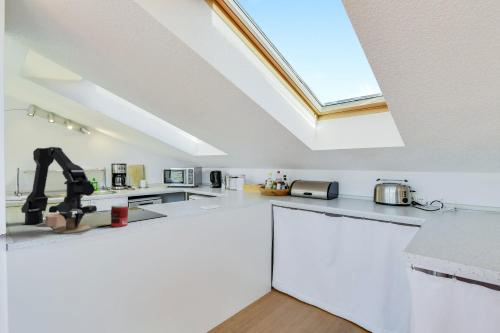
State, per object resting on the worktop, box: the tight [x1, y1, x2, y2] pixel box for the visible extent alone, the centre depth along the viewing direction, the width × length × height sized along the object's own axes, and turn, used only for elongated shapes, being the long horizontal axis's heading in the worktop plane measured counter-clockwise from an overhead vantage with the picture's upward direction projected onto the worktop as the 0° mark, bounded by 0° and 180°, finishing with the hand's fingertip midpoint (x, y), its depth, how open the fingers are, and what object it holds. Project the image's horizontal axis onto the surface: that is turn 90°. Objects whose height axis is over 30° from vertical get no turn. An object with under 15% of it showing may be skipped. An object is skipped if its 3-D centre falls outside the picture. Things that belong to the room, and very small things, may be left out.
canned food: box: [110, 203, 129, 228], centre depth 133 cm, size 8×8×11 cm
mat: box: [42, 225, 100, 236], centre depth 122 cm, size 16×16×1 cm
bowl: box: [44, 213, 66, 228], centre depth 133 cm, size 10×10×5 cm
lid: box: [53, 215, 91, 234], centre depth 122 cm, size 14×14×6 cm
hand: (72, 227), depth 122 cm, fingers closed on lid, 3 cm apart
